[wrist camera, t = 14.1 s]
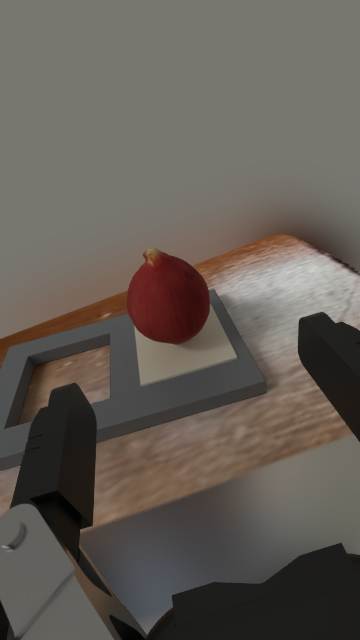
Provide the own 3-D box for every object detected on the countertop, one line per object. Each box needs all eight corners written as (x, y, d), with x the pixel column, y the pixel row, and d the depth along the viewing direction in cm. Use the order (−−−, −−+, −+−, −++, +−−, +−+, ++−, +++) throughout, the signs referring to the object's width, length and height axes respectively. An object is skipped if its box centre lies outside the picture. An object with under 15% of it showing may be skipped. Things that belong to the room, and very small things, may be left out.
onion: (178, 310, 27) (156, 223, 22) (231, 331, 24) (218, 233, 19) (129, 349, 24) (91, 260, 20) (181, 380, 21) (150, 279, 16)
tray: (-30, 479, 20) (-44, 468, 19) (16, 356, 29) (8, 345, 28) (266, 392, 20) (265, 378, 19) (215, 299, 30) (214, 287, 29)
